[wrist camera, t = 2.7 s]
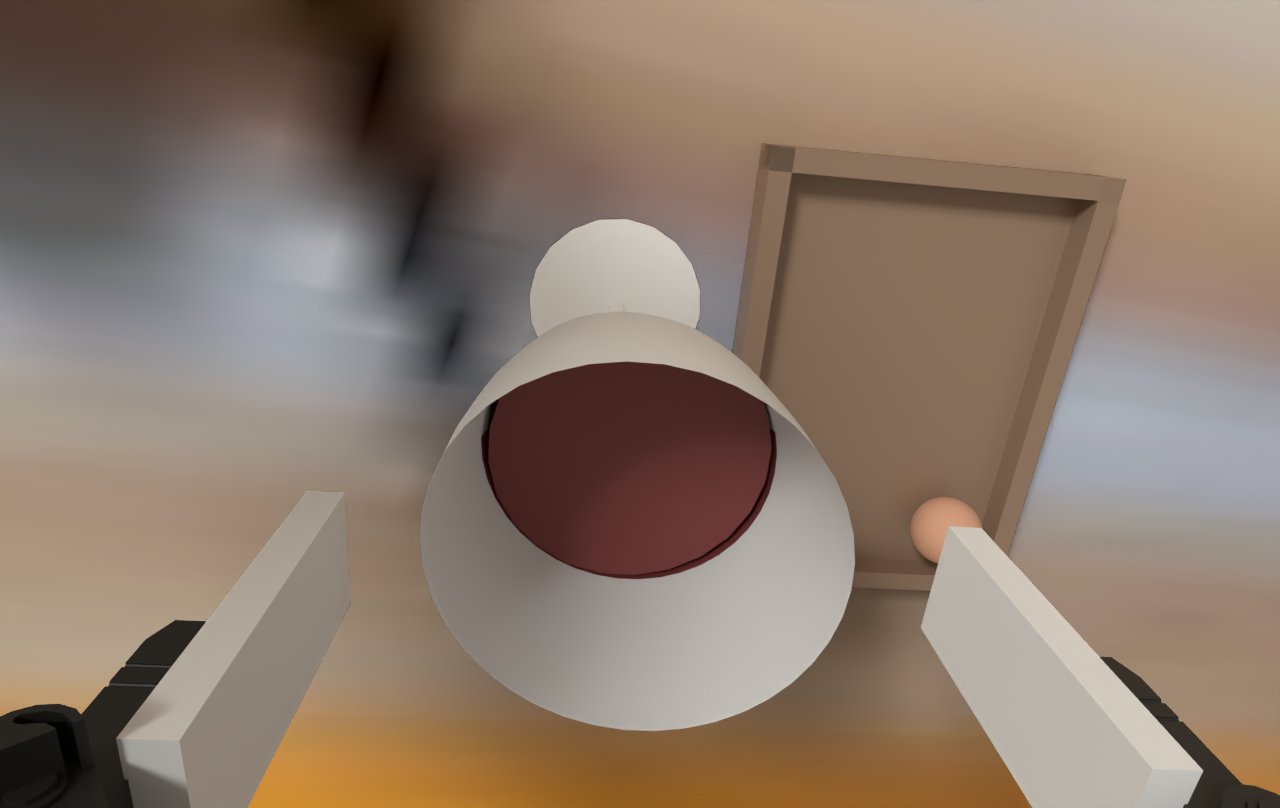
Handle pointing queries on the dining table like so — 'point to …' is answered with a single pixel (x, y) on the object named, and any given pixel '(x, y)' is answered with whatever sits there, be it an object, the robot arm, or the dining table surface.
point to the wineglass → (633, 506)
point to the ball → (939, 524)
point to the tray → (918, 328)
